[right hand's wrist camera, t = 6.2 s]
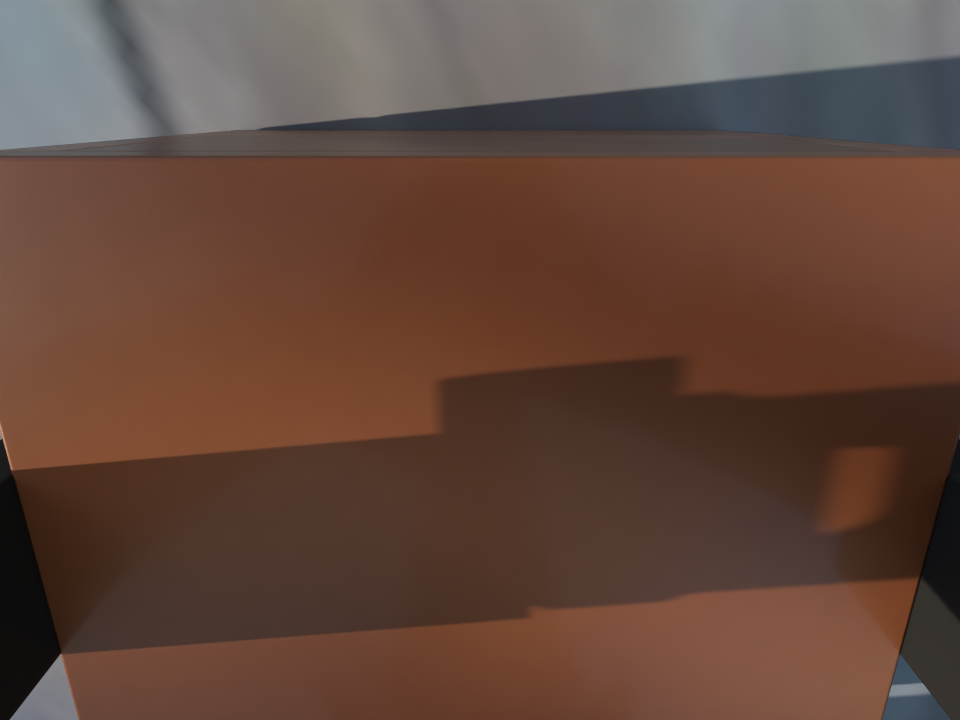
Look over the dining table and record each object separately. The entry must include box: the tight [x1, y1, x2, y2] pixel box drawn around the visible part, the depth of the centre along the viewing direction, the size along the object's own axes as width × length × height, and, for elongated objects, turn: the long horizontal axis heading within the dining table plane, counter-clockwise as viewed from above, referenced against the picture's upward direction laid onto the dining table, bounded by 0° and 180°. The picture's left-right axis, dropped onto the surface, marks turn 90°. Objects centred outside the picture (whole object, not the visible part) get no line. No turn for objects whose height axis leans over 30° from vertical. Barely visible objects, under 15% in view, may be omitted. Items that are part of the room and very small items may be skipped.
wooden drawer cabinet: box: [0, 130, 960, 720], centre depth 14 cm, size 17×11×9 cm, turn 0°
